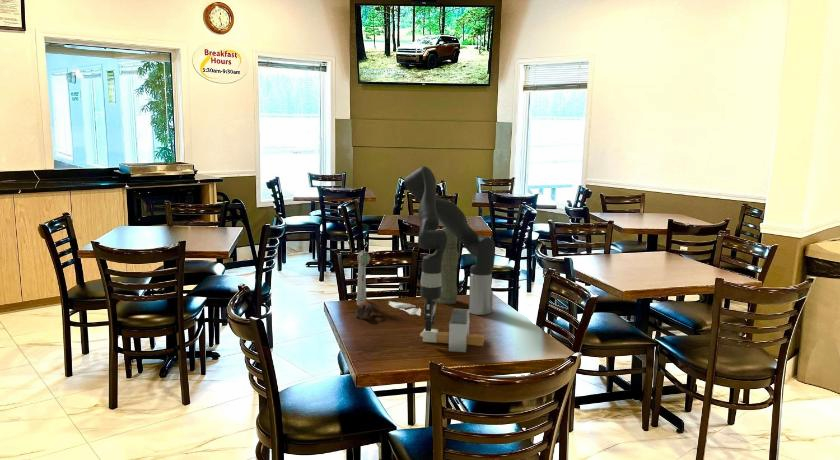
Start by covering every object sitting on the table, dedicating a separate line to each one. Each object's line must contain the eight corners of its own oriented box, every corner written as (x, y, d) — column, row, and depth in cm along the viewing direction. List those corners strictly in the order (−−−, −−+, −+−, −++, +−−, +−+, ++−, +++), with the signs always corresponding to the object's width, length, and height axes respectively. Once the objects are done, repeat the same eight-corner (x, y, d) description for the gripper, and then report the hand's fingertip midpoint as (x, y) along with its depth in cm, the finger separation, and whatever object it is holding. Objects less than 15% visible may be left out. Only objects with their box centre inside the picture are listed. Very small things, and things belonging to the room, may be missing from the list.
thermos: (430, 302, 287) (432, 226, 282) (450, 298, 295) (452, 224, 290) (443, 306, 280) (445, 228, 276) (463, 302, 288) (465, 226, 283)
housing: (468, 335, 239) (469, 301, 238) (465, 352, 220) (466, 316, 218) (453, 334, 240) (454, 300, 238) (448, 351, 221) (449, 315, 219)
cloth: (432, 316, 266) (432, 311, 266) (402, 319, 261) (402, 314, 261) (409, 301, 290) (409, 296, 290) (381, 304, 285) (381, 299, 284)
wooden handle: (483, 342, 231) (484, 332, 230) (482, 346, 227) (483, 335, 226) (421, 338, 235) (421, 327, 234) (419, 341, 231) (419, 330, 230)
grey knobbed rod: (365, 304, 281) (365, 248, 278) (370, 307, 275) (371, 251, 272) (354, 305, 279) (354, 249, 276) (359, 308, 273) (359, 252, 270)
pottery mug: (353, 314, 265) (362, 296, 266) (373, 324, 266) (382, 306, 267) (354, 316, 253) (363, 297, 254) (375, 326, 254) (384, 308, 255)
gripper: (423, 279, 236) (422, 321, 238) (418, 287, 222) (416, 332, 224) (443, 280, 235) (441, 322, 237) (439, 289, 221) (437, 333, 223)
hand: (429, 327), depth 231 cm, fingers open, 8 cm apart
